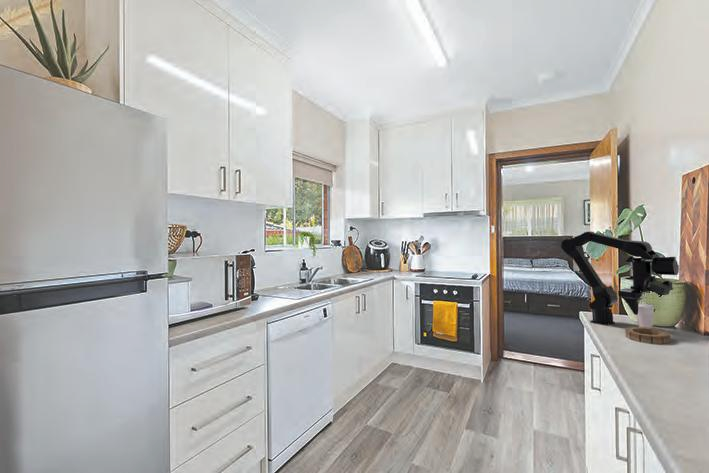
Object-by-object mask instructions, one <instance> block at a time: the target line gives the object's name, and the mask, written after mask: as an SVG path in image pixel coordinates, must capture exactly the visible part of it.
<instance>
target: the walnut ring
mask: <svg viewBox="0 0 709 473" xmlns="http://www.w3.org/2000/svg"><path fill="white" fill-rule="evenodd" d="M624 331H625V332H624V333H625V338H627V339H629V340H631V341H635V342H639V343H640V342H641V343H644V342H645V343H646V344H654V345H655V344H657V345H661V344H669V343H671V335H670V332H668V331H666V330H663V329H659V328H655V327H654V328H653V327H652V328H648V327H639V326H630V327H626V328H625V329H624Z"/></svg>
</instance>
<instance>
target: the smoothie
mask: <svg viewBox="0 0 709 473" xmlns="http://www.w3.org/2000/svg"><path fill="white" fill-rule="evenodd" d="M644 297H645V295H644V294H642V296H641V298H642V299H641V303H638V315H636V316H635V317H636V321H637V324H638V327H648V328H653V323H654V322H653V321H654V314H655V312H654V309H655V306H654V305H650V304H648V303H645V298H644ZM655 310H656V309H655Z"/></svg>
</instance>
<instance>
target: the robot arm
mask: <svg viewBox="0 0 709 473" xmlns="http://www.w3.org/2000/svg"><path fill="white" fill-rule="evenodd" d="M589 242H592V243H595V244H600V245H604V246H606V247H610V248H614V249H617V250H620V251H623V253H625V254H627V255H630V256H629V257H628V258H626V259H625V260H624V261H625V263H631V270H632V271H631V272H632V275H630V276H629V279H631V280H632V285H631V286H630V288H620V289H619V290H618V291H617V292H618V293H617V292H616V291H615V290H614V287H613V286H612V285H609V286H607V285H606V284H605V283H604V282H603V280H602V279H601V278H600V276H599V274H598V273H597V272H596V270H595V269H594V267H593V265H592V264H591V263H590V261H589V260H588V257H586V255H585V251H584V250H585V249H584V247H583V246H584V245H586V244H588V243H589ZM560 247H561V248H560V249H562V251H563V252H564V253H565V254H566V255H567V256H568V257H570V258H571V259H572V260H573V261H574V263H575V264H576V266H577V267H578V269H579V270H580V272H581V273H582V275H583V276H584V278H585V280H586V282H587V283H588V284H589V286H590V287H591V291H592V297H593V299H594V300H592V302H590V303H588V306H589V307H590V309H591V310H592V311H591V312H592V313H591V314H592V316H591V317H592V320H589V322H590V323H594V324H599V325H602V326H607V325H612V324H613V325H615V324H616V321H614V314H613V312H612V311H613V310H612V308H613V306H614V305H615V304H616V303H617V302H618V297H620V298H621V299H623V300H624V301H625V303H626V304H627V306H628V307H629V309H630V310H631V312H632V314H633V315H638V304H640V303H639V302H640V301H642V294H643V295H645V293H650V291H652V292H655V293H656V294H658V295H660V296H659V297H661V296H662V295H665V296H666V295H667V296H668V295H670V292H671V291H673V290H674V288H673V282H672V281H670V280H664V281H658V280H656V277H655V276H654V275H652V273H654V274H656V275H662V276H663V275H666V276H678V274H679V271H680V266H679V263H678V260H677V257H676V256H660V255H658V253H656V251H655V250H653V246H652V245H651V244H650V242H647V241H643V240H642V241H641V240H631V239H623V238H618V237H613V236H611V235H605V234H602V233H598V232H595V231H585V232H583V233H581V234H578V235H577V236H574V237H572V238H566V239H564V240H562V241H561V244H560ZM617 295H618V296H617ZM661 298H662V297H661ZM655 311H656V309H654V313H655Z"/></svg>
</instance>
